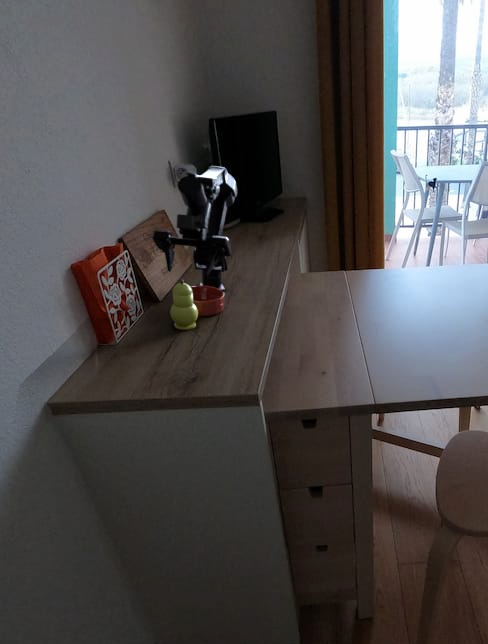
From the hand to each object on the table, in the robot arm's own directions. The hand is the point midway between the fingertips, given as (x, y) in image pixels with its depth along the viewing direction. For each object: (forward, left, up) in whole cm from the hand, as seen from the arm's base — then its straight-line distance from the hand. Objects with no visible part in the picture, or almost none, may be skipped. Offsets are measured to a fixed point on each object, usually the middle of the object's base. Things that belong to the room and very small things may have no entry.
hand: (187, 272), depth 117 cm
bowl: (-5, +4, -12) cm, 14 cm away
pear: (+5, -2, -12) cm, 13 cm away
